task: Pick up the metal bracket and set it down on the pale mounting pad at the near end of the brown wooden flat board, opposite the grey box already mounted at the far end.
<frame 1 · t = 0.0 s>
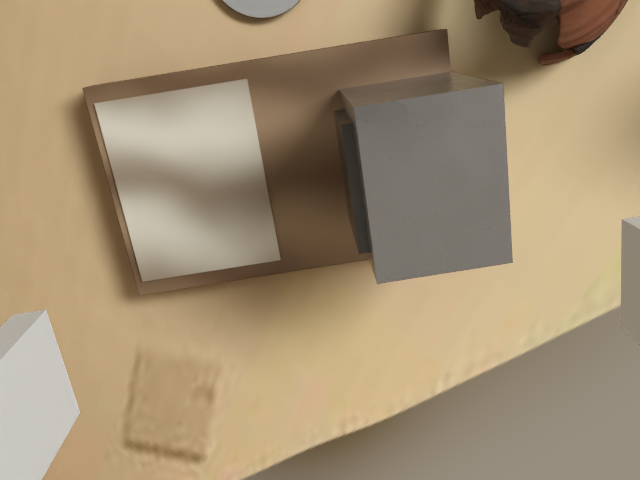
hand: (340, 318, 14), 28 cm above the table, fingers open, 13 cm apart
grey box: (397, 146, 41), resting on brown wooden flat board
brown wooden flat board: (284, 164, 41), on the table
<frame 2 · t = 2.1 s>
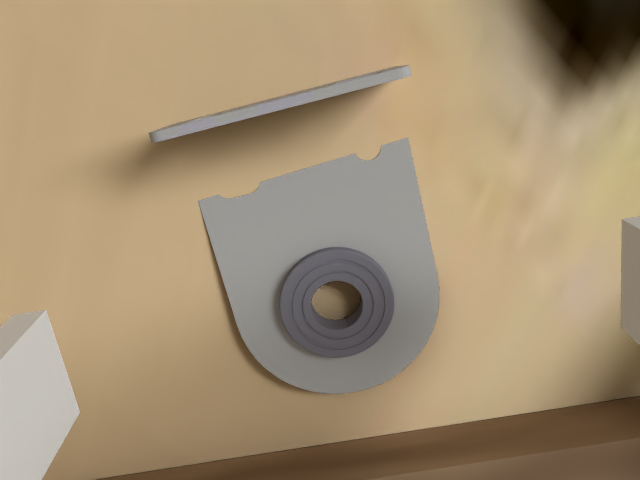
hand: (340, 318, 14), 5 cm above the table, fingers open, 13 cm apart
bracket: (325, 221, 19), on the table
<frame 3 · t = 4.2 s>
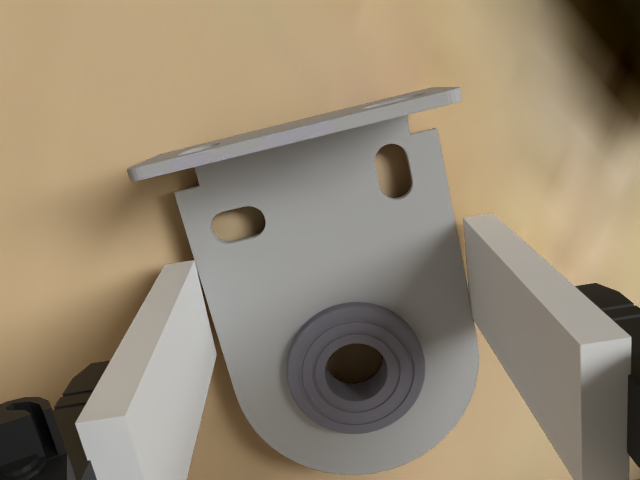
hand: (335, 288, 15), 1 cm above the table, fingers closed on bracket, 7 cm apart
bracket: (342, 269, 16), on the table, touching gripper
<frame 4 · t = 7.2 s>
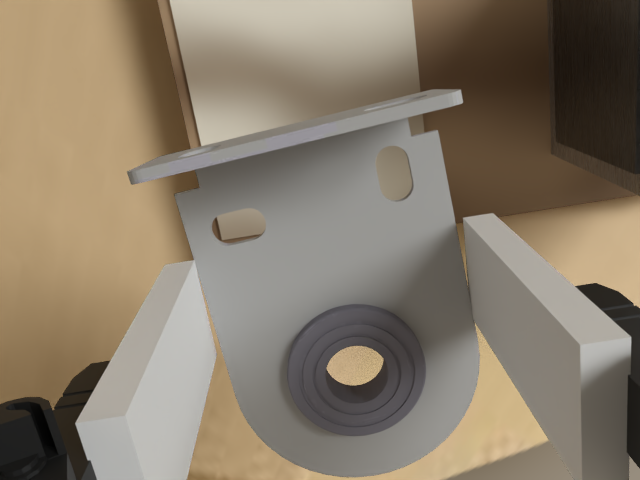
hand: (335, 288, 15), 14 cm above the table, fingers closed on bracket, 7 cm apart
grey box: (608, 34, 27), resting on brown wooden flat board
bracket: (343, 271, 16), point 13 cm above the table, touching gripper
brown wooden flat board: (436, 62, 27), on the table
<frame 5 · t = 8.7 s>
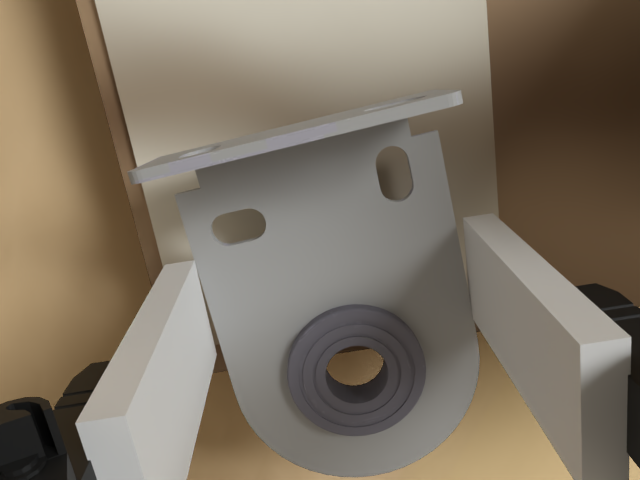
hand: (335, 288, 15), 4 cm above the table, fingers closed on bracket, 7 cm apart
bracket: (343, 271, 16), point 3 cm above the table, touching gripper
brown wooden flat board: (511, 79, 18), on the table
when the fingers open (3 cm above the table, at t = 9.8 s): bracket stays where it is, resting on brown wooden flat board.
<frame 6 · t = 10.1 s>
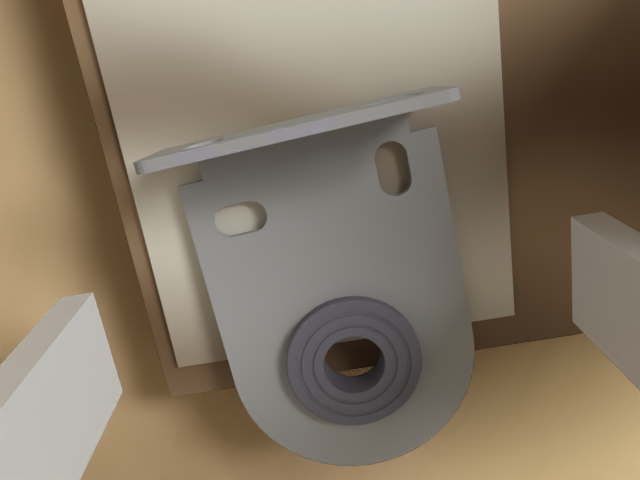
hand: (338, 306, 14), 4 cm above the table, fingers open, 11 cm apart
bracket: (342, 264, 16), point 2 cm above the table, touching brown wooden flat board
brown wooden flat board: (522, 82, 17), on the table
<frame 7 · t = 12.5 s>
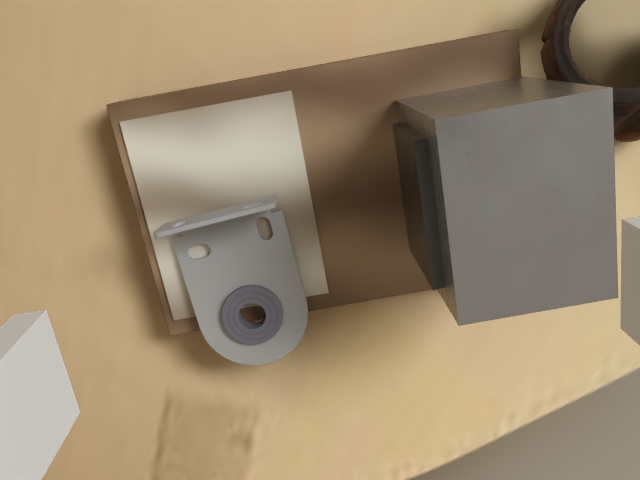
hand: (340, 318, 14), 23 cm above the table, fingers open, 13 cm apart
pottery mug: (626, 49, 35), on the table
grey box: (457, 162, 36), resting on brown wooden flat board
bracket: (247, 270, 36), point 2 cm above the table, touching brown wooden flat board
brown wooden flat board: (330, 185, 36), on the table
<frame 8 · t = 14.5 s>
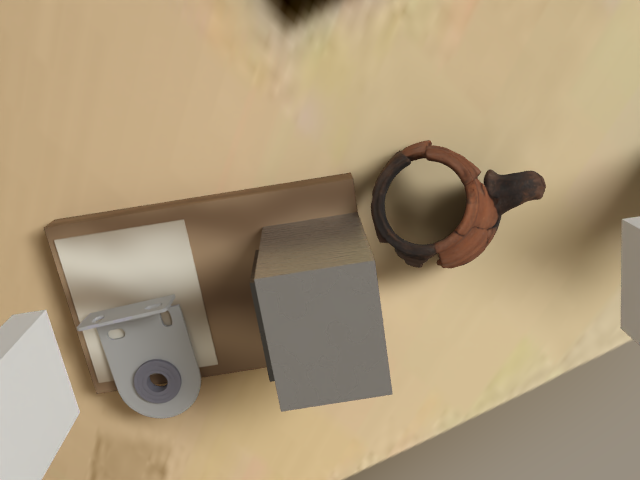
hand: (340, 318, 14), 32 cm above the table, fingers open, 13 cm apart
pottery mug: (445, 195, 46), on the table
grey box: (318, 266, 47), resting on brown wooden flat board
bracket: (154, 347, 47), point 2 cm above the table, touching brown wooden flat board
brown wooden flat board: (221, 281, 47), on the table
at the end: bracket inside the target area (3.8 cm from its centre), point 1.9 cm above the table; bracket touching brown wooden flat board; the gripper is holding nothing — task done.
